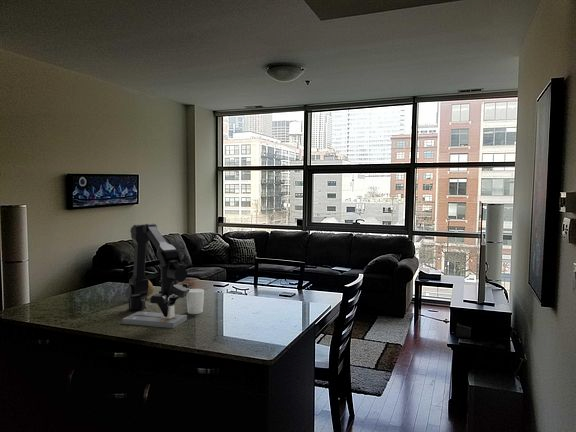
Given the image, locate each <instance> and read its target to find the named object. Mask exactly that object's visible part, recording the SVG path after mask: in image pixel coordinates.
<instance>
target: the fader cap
mask: <svg viewBox="0 0 576 432" xmlns="http://www.w3.org/2000/svg"><path fill="white" fill-rule="evenodd" d="M175 306H176V304H175V305H172V304H169V306H168V315H167V317H164V315H163V313H162V312H161V313H162V318H167V319H171V318H173V317H175V314H176V313H175Z"/></svg>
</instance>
